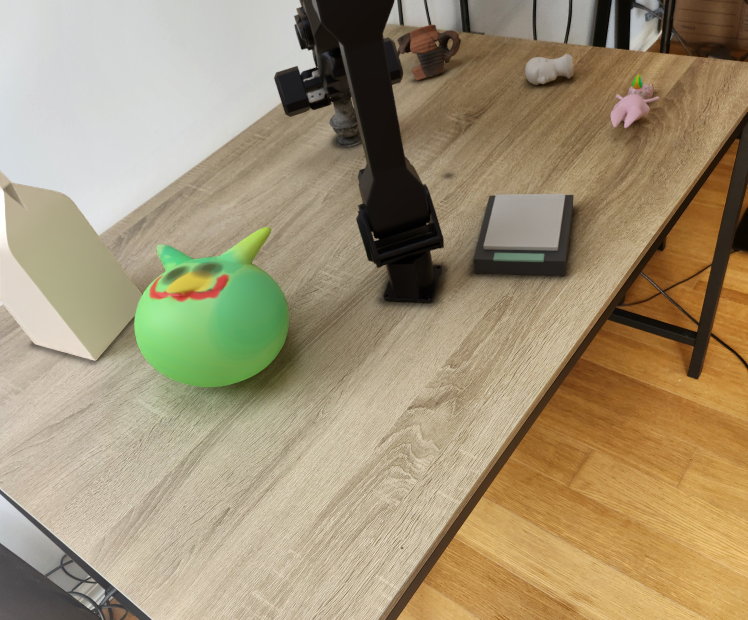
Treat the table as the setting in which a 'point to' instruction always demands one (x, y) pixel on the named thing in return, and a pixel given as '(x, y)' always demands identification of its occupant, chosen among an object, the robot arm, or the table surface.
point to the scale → (525, 235)
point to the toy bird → (212, 316)
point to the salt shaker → (345, 121)
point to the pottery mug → (429, 49)
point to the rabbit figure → (633, 103)
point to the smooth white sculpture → (548, 69)
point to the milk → (60, 273)
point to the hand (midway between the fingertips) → (340, 97)
